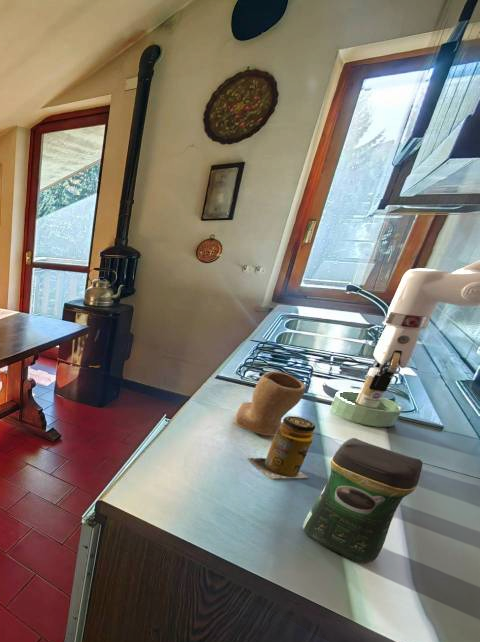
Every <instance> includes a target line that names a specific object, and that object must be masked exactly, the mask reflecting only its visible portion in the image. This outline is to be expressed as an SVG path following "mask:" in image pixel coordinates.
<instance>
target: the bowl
mask: <svg viewBox="0 0 480 642" xmlns="http://www.w3.org/2000/svg"><path fill="white" fill-rule="evenodd" d="M359 393H360V391H357V390H339V391H337V392H336V393H335V395H334V397H333V399H332V402H331V404H330V405H329V408H330V410H331V411H332V412H333V414H336V415H337V416H338V417H340V418H342V419H345V420H347V421H349V422H351V423H356V424H360V425H364V426H369V427H374V428H375V427H376V428H377V427H378V428H384V427H392V426H395V424H396V423H397V421H398V419H399V417H400V415H401V413H402V411H403V409H404V408H403V407H402V405H400V404H399V403H397V402H396V401H393V400H391V399H389V398H386V397H383V396H382V398H381V400H380V402H379V405H378V406H377V408H376V409H371V408H366V407H363V406H359V405H356V404H355V403H356V400H357V397H358V395H359Z"/></svg>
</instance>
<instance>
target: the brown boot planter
mask: <svg viewBox="0 0 480 642" xmlns="http://www.w3.org/2000/svg"><path fill="white" fill-rule="evenodd" d="M306 390H307V387H306V385H305V384H304V383H303V381H301V380H300V379H298V378H297V377H295V376H292V375H291V374H288V373H285V372H281V371H267V372H265V373H264V374H262V375H261V377H260V378H259V379H258V381H257V383H256V386H255V387H254V389H253V392H252V398H251V399H252V400H251V401H244V402H242V403H241V404H240V406H239V407H238V409H237V411H236V413H235V416H234V424H235V425H236V426H238V427H239V428H241V429H243V430H245V431H248V432H252V433H254V434H258V435H261V436H268V437H272V436H273V437H274V436H275V434H276V431H277V429H278V428H279V427H280V426H281V424H282V420H283V418H284V416H285V415H286V414H287V413H288V412H290V411H291V410H292V409H294V408H295V406H297V405H298V403H299V402H301V400H302V398H303V396H304V395H305V394H306Z"/></svg>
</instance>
